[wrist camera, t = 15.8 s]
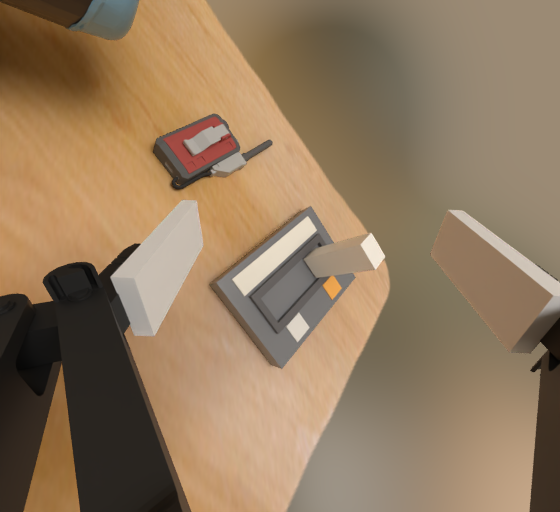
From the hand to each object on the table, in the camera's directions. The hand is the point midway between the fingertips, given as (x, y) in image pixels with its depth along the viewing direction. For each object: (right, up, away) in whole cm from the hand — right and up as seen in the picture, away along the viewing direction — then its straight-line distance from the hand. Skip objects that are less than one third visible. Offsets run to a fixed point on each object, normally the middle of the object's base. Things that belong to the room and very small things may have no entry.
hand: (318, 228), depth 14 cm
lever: (+4, -3, +31) cm, 31 cm away
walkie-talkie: (-13, +15, +28) cm, 34 cm away
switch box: (-1, -6, +31) cm, 32 cm away
